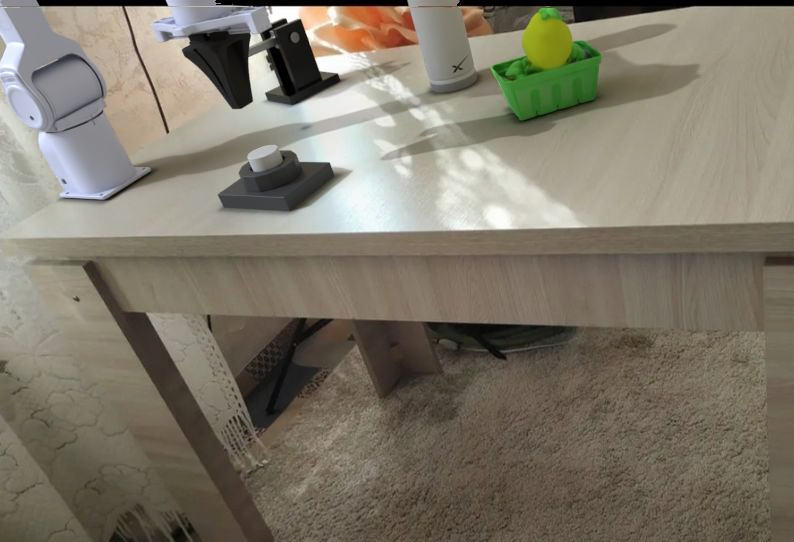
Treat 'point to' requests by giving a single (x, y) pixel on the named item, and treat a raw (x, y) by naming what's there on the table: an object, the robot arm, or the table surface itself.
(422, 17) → the travel mug
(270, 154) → the white push button
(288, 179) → the push button base
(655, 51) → the table surface
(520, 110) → the fruit basket
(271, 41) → the flush lever
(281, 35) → the black lever base
